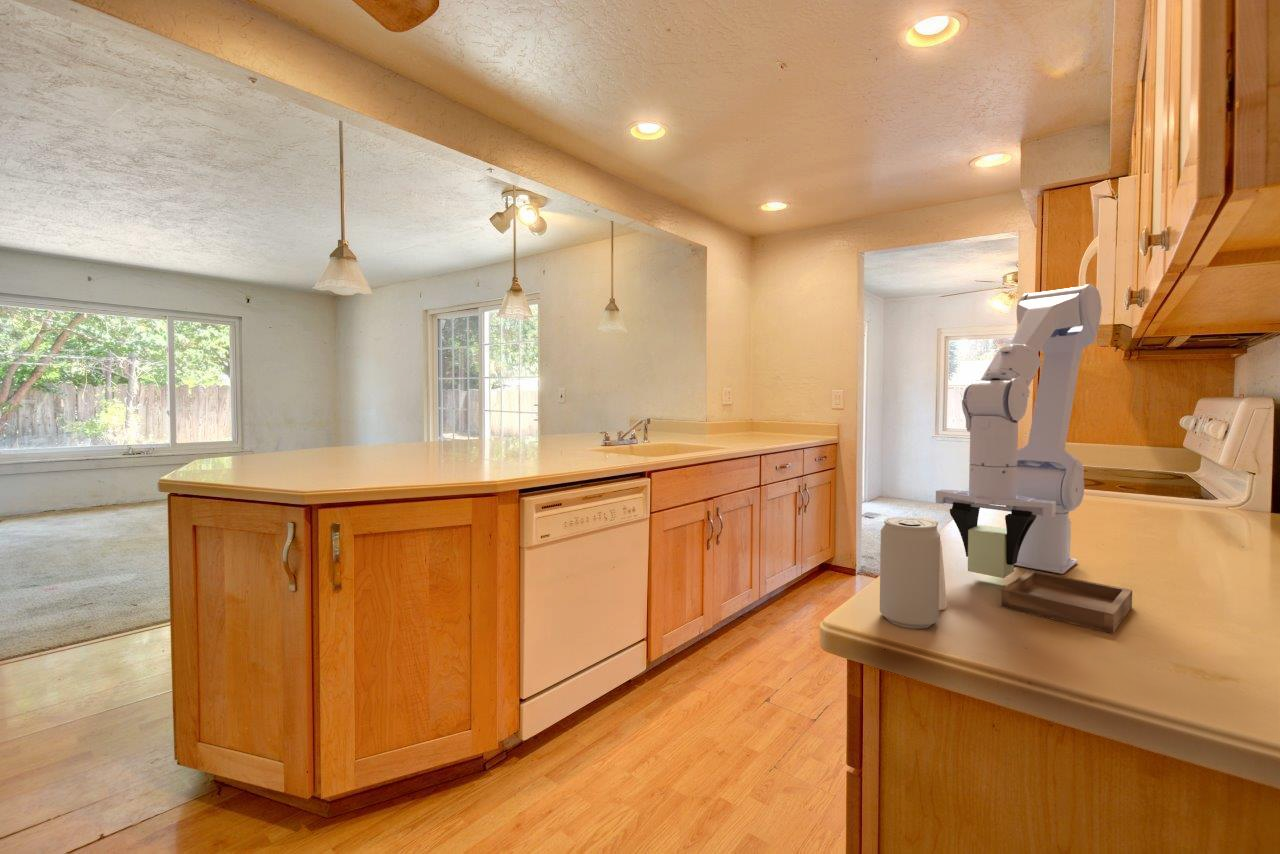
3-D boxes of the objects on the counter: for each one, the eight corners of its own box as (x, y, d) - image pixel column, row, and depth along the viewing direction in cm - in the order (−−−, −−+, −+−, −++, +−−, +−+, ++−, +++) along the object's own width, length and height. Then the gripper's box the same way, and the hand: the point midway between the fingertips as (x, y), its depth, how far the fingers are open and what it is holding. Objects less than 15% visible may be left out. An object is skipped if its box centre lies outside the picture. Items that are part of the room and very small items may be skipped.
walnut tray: (1029, 585, 79) (1029, 570, 79) (1131, 606, 71) (1132, 589, 71) (1001, 606, 71) (1001, 589, 71) (1112, 633, 63) (1113, 614, 63)
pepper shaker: (896, 595, 76) (897, 514, 75) (939, 597, 75) (941, 515, 74) (907, 610, 71) (909, 523, 70) (954, 612, 70) (956, 525, 69)
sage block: (978, 564, 83) (979, 524, 83) (1013, 571, 80) (1014, 529, 80) (967, 571, 81) (968, 529, 80) (1003, 578, 77) (1004, 535, 77)
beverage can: (877, 625, 66) (878, 523, 65) (881, 607, 72) (883, 513, 71) (938, 635, 63) (940, 529, 62) (938, 615, 69) (940, 518, 68)
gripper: (927, 463, 82) (926, 554, 83) (1046, 472, 71) (1043, 577, 72) (946, 459, 87) (945, 545, 88) (1061, 467, 76) (1058, 566, 77)
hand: (990, 559), depth 80 cm, fingers closed on sage block, 4 cm apart
